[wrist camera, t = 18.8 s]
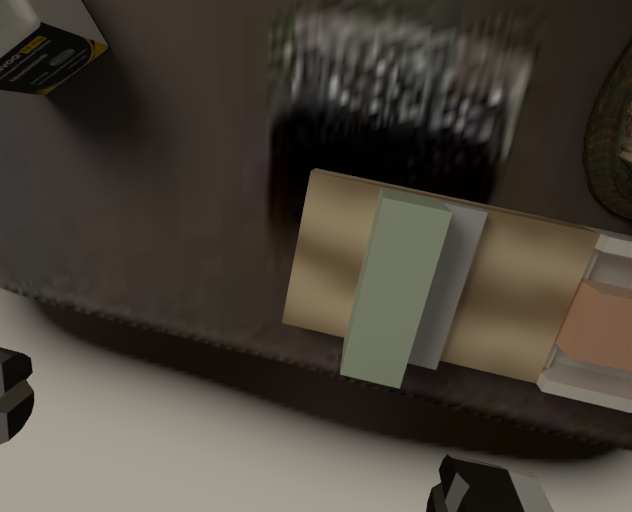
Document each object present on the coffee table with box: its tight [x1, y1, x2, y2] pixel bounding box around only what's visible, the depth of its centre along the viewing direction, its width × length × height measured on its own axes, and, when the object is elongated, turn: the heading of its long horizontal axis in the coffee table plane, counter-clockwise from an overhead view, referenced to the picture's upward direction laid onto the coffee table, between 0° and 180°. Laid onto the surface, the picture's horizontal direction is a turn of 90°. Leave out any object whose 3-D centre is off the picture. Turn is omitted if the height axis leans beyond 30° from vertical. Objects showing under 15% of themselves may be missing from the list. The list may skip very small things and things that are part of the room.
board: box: [282, 168, 600, 383], centre depth 31 cm, size 12×20×3 cm, turn 79°
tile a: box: [554, 279, 632, 372], centre depth 28 cm, size 5×5×3 cm
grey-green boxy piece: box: [340, 188, 488, 389], centre depth 27 cm, size 12×7×5 cm, turn 169°
